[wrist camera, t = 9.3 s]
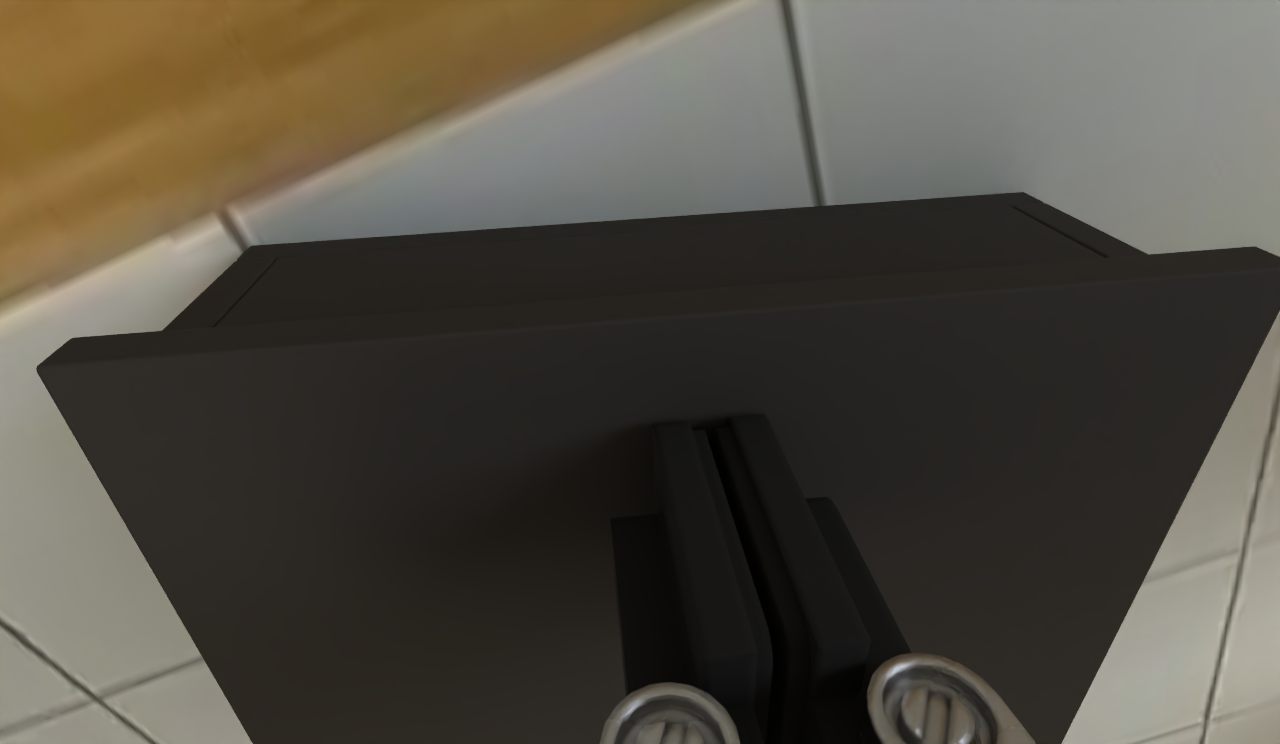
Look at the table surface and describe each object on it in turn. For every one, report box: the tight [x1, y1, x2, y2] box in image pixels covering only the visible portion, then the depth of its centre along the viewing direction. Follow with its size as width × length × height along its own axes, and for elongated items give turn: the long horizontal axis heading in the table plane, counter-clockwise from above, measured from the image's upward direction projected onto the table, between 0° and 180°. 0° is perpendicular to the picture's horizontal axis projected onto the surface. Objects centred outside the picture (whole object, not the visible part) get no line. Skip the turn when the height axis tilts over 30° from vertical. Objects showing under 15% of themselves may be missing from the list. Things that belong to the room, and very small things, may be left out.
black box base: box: [162, 192, 1148, 331], centre depth 16 cm, size 13×17×5 cm
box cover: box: [36, 247, 1280, 744], centre depth 13 cm, size 13×17×1 cm
